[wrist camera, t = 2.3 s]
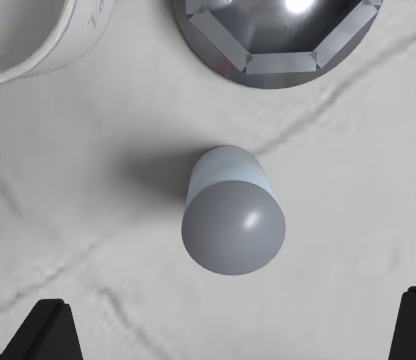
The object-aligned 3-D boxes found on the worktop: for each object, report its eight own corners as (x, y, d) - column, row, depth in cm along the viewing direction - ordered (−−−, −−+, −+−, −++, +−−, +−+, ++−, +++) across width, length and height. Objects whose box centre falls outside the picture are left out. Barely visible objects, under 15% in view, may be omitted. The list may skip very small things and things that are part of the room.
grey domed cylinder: (264, 144, 21) (287, 181, 15) (263, 213, 23) (283, 273, 16) (188, 147, 21) (177, 185, 15) (192, 215, 23) (185, 276, 17)
